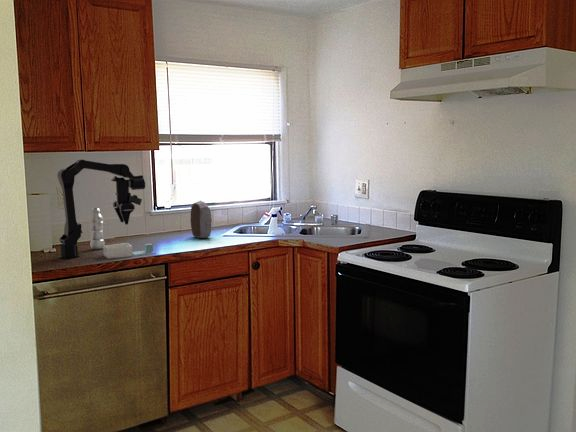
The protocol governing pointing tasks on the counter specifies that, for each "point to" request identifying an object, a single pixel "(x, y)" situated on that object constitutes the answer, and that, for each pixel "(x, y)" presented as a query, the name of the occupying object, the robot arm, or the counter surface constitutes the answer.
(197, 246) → the counter surface
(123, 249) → the tub
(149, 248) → the lid
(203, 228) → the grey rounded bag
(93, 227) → the plastic bottle
